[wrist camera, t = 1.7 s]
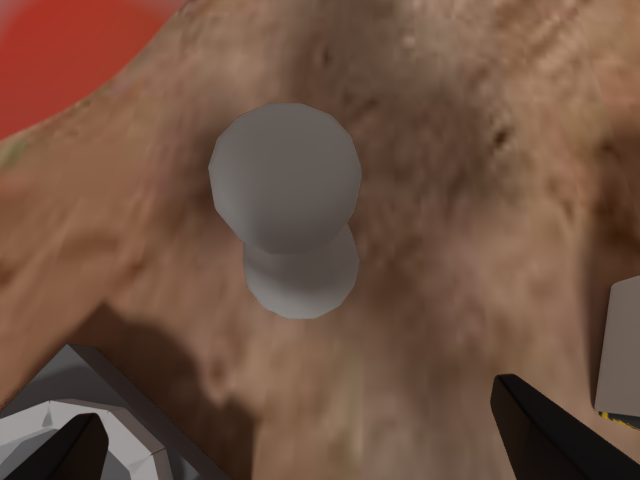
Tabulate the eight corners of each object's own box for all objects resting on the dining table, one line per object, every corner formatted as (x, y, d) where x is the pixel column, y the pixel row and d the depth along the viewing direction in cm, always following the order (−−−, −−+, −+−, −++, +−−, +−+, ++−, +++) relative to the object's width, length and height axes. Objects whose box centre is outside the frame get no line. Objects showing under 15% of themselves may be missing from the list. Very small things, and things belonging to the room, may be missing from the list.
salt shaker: (266, 214, 24) (208, 46, 12) (363, 234, 24) (409, 80, 11) (239, 313, 22) (138, 238, 10) (343, 336, 22) (373, 286, 10)
